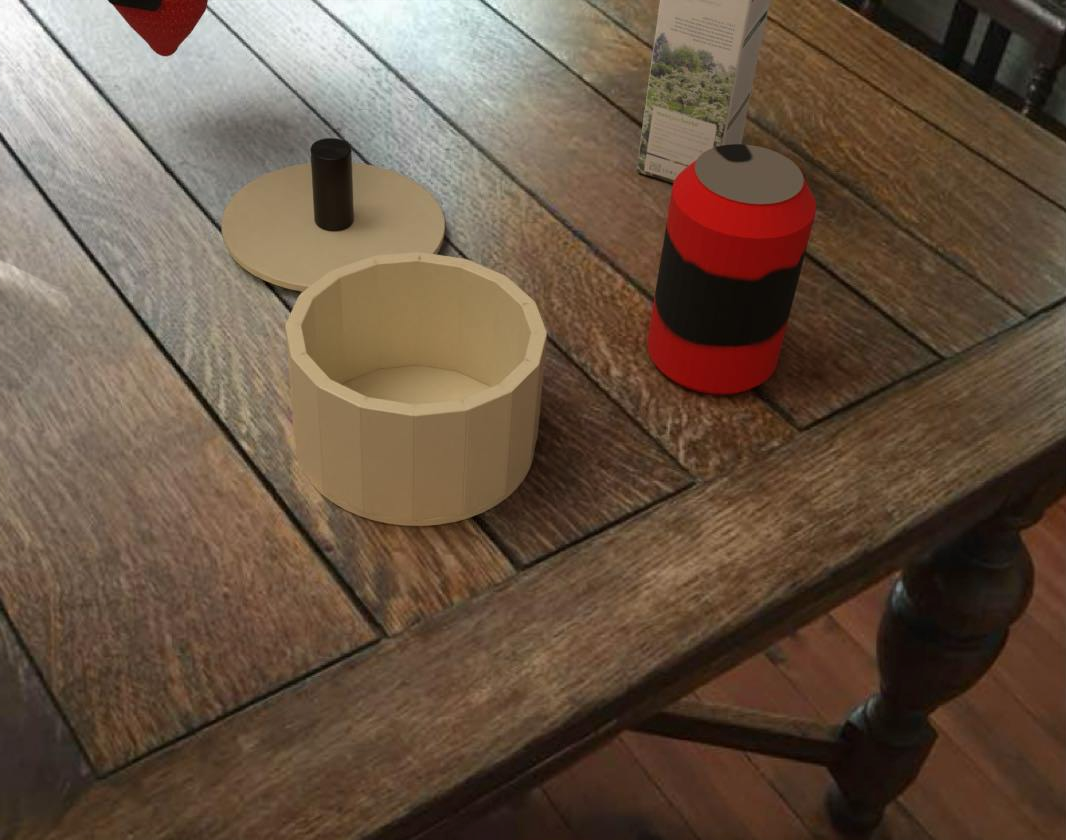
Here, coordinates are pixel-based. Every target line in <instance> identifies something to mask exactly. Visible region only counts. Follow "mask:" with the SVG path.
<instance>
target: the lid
mask: <svg viewBox="0 0 1066 840" xmlns="http://www.w3.org/2000/svg"><path fill="white" fill-rule="evenodd" d="M309 151H310V162H304V163H299V164H294V165H293V164H292V165H290V166H284V167H281V168H279V169H275V170H273V171H269V172H267V173H265V174H262V175H261V176H259V177H257V178H255V179H253V180H252V181H249V182H248V183H247V184H246V185H244V186H243V187H241V188H240V189H239V190H237V192H236V193H235V194H234V195H233V196H232V197H231V198H230V199H229V201H228V202H227V204H226V206H225V208H224V211H223V213H222V217H221V223H220V224H221V236H222V240H223V244H224V246H225V248H226V249H227V252H228V254H229V255H230V256H231V257H232V258H233V260H234V261H235V262H236V263H237V264H238V265H239V266H240V267H241V268H243V269H244V270H246V271H247V273H248V272H249V274H251V275H253V276H255V277H257V278H259V279H260V280H262V281H265V282H267V283H270V284H272V285H275V286H277V287H281V288H284V289H287V290H292V291H296V292H301V293H302V292H303V291H305V290H306V289H307V288H308V287H310V286H311V285H312V284H314V283H315V282H316V281H317V280H319V279H320V278H321V277H323V276H324V275H325V274H327V273H328V272H329V271H331V270H333V269H336V268H339V267H342V266H345V265H348V264H351V263H354V262H357V261H359V260H362V259H365V258H368V257H372V256H375V255H388V254H400V253H412V252H423V253H429V254H436V255H438V254H439V252H440V250H441V248H442V246H443V244H444V239H445V234H446V221H445V216H444V212H443V210H442V208H441V206H440V204H439V202H438V201H437V200H436V198H435V197H434V196H433V195H432V194H431V193H430V192H429V191H428V189H426V188H425V187H423V186H422V185H421V184H419V183H418V182H416V181H415V180H413V179H411V178H409V177H407V176H405V175H403V174H401V173H399V172H397V171H393V170H391V169H389V168H384V167H380V166H378V165H372V164H367V163H362V162H353V152H352V151H353V150H352V146H351V145H350V143H348V142H347V141H346V140H344V139H340V138H336V137H328V138H327V137H326V138H321V139H319V140H316V141H314V142H313V143H312V144H311V146H310V150H309Z"/></svg>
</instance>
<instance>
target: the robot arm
mask: <svg viewBox="0 0 1066 840" xmlns="http://www.w3.org/2000/svg"><path fill="white" fill-rule="evenodd" d="M107 1H108V3H109V4H111V5H112V4H113V5H117V6H123V7H129V8H136V9H142V10H148V11H157V10H158V9H159V7H160V6H161V3H162V2H161V0H107ZM113 5H112V6H113Z"/></svg>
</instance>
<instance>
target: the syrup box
mask: <svg viewBox="0 0 1066 840" xmlns="http://www.w3.org/2000/svg"><path fill="white" fill-rule="evenodd" d="M658 4H659V5H658V11H657V20H656V28H655V33H654V40H653V47H652V53H651V54H652V55H651V62H650V69H649V76H648V83H647V90H646V97H645V98H646V99H645V106H644V113H643V120H642V126H641V134H640V142H639V149H638V150H639V151H638V155H637V162H636V163H637V164H636V172H637V173H638V174H642V175H645V176H649V177H652V178H655V179H659V180H661V181H665V182H668V183H671V184H673V183H674V180H675V179H676V177H677V176H678V174H679V173H681V172H682V171H683V170H684V169H685V168H686V167H688V166H689V165H690V164H692V163H693V162H694V161H695V160H697V159H698V157H699V156H700V155H701V154H702V153H704V152H705V151H707V150H709V149H711V148H715V147H718V146H723V145H730V144H743V138H744V133H745V126H746V120H747V115H748V111H749V105H750V99H751V94H752V90H753V85H754V80H755V75H756V71H757V66H758V60H759V57H760V51H761V46H762V42H763V37H764V34H765V28H766V24H767V18H768V15H769V9H770V6H771V5H770V4H771V0H659V3H658Z"/></svg>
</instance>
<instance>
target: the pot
mask: <svg viewBox="0 0 1066 840" xmlns="http://www.w3.org/2000/svg"><path fill="white" fill-rule="evenodd" d="M284 330H285V343H286V351H287V352H286V355H287V367H288V378H289V391H290V403H291V417H292V429H293V435H294V441H295V449H296V455H297V459H298V463H299V465H300V467H301V469H302V472H303V474H304V475H305V477H306V479H308V481H309V482H310V484H311V485H312V486H313V488H315V489H316V490H317V492H318V493H320V494H321V495H322V496H323V497H325V498H326V499H327V500H329V501H330V502H331V503H332V504H335V506H338V507H340V508H341V509H343V510H344V511H347V512H349V513H351V514H354V515H356V516H358V517H361V518H365V519H367V520H370V521H374V522H378V523H382V524H383V523H384V524H387V525H396V526H403V527H404V526H405V527H429V526H439V525H445V524H451V523H457V522H460V521H463V520H466V519H467V520H468V519H470V518H473V517H476V516H477V515H480V514H483V513H485V512H487V511H489V510H491V509H492V508H494V507H496V506H497V505H499V504H501V503H502V502H503V501H505V500H506V499H508V498H509V496H511V495H512V494H513V493H514V492H515V491H516V490H517V489H518V488H519V487H520V485H521V484H522V483H523V481H524V480H525V479H526V477H527V475H528V473H529V471H530V469H531V466H532V464H533V461H534V457H535V456H534V455H535V450H536V449H535V448H536V444H537V440H538V434H539V426H540V425H539V424H540V416H541V415H540V414H541V413H540V412H541V403H542V393H543V391H542V390H543V383H544V374H545V373H544V372H545V364H546V363H545V361H546V351H547V341H548V331H547V328H546V325H545V322H544V320H543V317H542V316H541V313H540V310H539V307H538V305H537V302H536V301H535V300H534V299H533V298H531V297H530V295H528V294H527V293H526V292H525V291H524V290H523V289H522V288H521V287H520V286H518V285H517V284H516V283H515V282H514V280H512V279H510V278H509V277H508V276H507V275H505V274H503V273H500V272H498V271H496V270H493V269H492V268H489V267H487V266H484V265H481V264H480V263H477V262H474V261H472V260H470V259H467V258H461V257H454V256H448V255H442V254H437V255H436V254H429V253H423V252H412V253H400V254H388V255H375V256H372V257H368V258H365V259H362V260H359V261H357V262H354V263H351V264H348V265H345V266H342V267H339V268H336V269H333V270H331V271H329V272H328V273H327V274H325V275H324V276H323V277H321V278H320V279H319V280H317V281H316V282H315V283H314V284H312V285H311V286H310V287H308V288H307V289H306V290H305V291H303V292H301V293H300V294H299V295H298V296H297V298H296V301H295V303H294V305H293V307H292V309H291V312H290V313H289V316H288V318H287V320H286V323H285V326H284Z"/></svg>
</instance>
